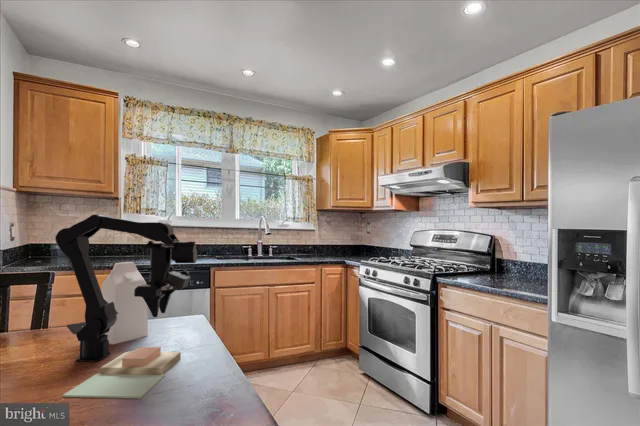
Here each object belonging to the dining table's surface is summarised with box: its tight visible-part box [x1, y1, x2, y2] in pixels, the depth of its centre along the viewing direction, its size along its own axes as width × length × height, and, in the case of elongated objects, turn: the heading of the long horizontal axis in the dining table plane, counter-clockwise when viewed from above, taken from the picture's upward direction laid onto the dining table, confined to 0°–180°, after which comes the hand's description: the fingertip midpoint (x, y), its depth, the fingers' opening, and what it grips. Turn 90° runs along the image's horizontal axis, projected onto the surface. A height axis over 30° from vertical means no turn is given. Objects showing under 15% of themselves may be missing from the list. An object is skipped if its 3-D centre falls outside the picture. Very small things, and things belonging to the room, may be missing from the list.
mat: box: [62, 373, 166, 399], centre depth 87 cm, size 18×12×1 cm, turn 89°
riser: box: [100, 350, 181, 375], centre depth 99 cm, size 16×12×2 cm
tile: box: [122, 346, 162, 367], centre depth 98 cm, size 6×9×2 cm, turn 178°
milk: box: [100, 261, 149, 345], centre depth 126 cm, size 12×12×26 cm
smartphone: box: [66, 321, 86, 335], centre depth 136 cm, size 7×1×15 cm
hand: (159, 315), depth 108 cm, fingers open, 5 cm apart
